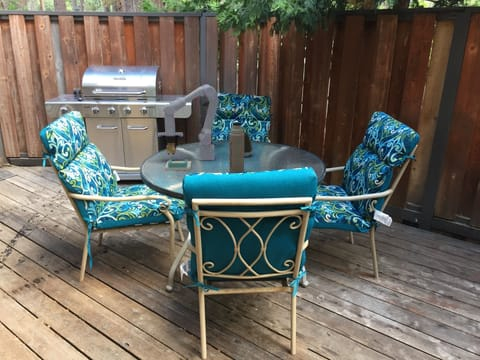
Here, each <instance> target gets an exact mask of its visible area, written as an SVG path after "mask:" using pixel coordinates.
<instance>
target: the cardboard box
mask: <svg viewBox="0 0 480 360" xmlns="http://www.w3.org/2000/svg"><path fill="white" fill-rule="evenodd" d="M176 149H177V147H176V148H175V142H174V143H173V142H172V143H171V142H167V149H166V154H167V155H170V154H172V155H175V153H176Z"/></svg>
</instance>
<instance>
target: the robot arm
mask: <svg viewBox="0 0 480 360" xmlns="http://www.w3.org/2000/svg"><path fill="white" fill-rule="evenodd" d="M198 97H206V98H207V99H208V102H210V103H209V107H208V111H206V115H205V120H204V124H203V127H202V128H201V130H200V132H199V134H198V140H199V143H198V147H199V148H198V149H199V153H198V154H199V155H198V161H214V160H215V157H216V153H215V144H213V137H212V138H211V135H212V136H213V126H214V121H215V118H216V114H217V110H218V107H219V106H218V104H220V100H219V98H218V94H217V90H216V89H215V88H214V87H213V86H211V85H209V84H207V83H206V84H203V85H201V86H198V87H197V88H196V89H195V90H193V91H192V92H190V93H189V94H187V95H186V96H184V97H181V96H180V97H176V98H175V100H173V101H172V102H171V101H170V102H169V103H168V104H165V105H164V107H163V112H164V129H165V131H163V132H157V137H161V139H162V141H163V143H164V145H165V149H166V150H167V144H168V137H174V143H175V148H176V149H177V146H178V145H177V144H178V141H179V138H180V137H184V132H180V131H176V122H175V113H176V112H178V111H180V110H181V109H183V108H184V107H186V106H187V103H189V102H190V101H192V100H194V99H196V98H198ZM211 130H212V131H211ZM211 142H212V144H211Z"/></svg>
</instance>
